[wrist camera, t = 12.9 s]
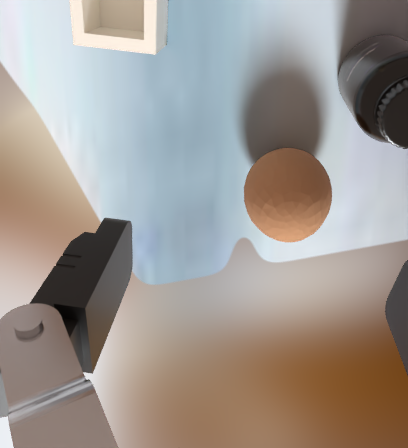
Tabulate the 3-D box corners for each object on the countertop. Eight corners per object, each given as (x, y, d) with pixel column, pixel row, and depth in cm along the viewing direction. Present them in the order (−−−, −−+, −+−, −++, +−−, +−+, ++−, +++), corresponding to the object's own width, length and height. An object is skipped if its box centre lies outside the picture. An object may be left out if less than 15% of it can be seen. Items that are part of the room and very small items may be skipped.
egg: (290, 215, 45) (300, 279, 36) (230, 179, 44) (224, 237, 34) (339, 159, 41) (364, 216, 32) (274, 117, 39) (281, 164, 30)
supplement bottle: (342, 34, 35) (377, 62, 25) (423, 32, 34) (493, 60, 24) (331, 111, 38) (358, 162, 28) (403, 111, 38) (457, 163, 28)
